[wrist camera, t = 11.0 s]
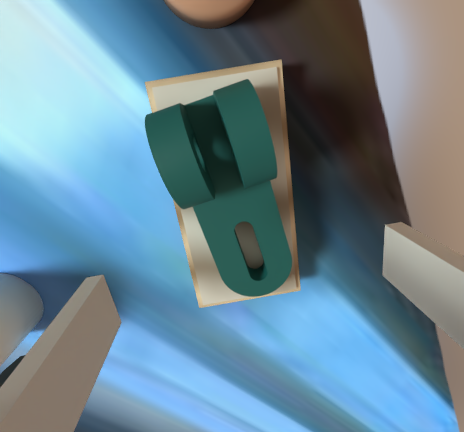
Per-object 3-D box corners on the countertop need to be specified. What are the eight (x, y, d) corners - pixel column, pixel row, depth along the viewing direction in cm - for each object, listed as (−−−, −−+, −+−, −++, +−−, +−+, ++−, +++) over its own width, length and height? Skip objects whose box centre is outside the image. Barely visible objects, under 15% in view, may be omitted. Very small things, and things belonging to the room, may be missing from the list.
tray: (151, 86, 23) (143, 81, 21) (274, 65, 23) (282, 58, 21) (200, 293, 31) (199, 309, 28) (294, 277, 31) (301, 292, 28)
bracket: (161, 116, 22) (133, 112, 14) (239, 87, 21) (253, 69, 14) (230, 291, 28) (237, 353, 20) (293, 271, 27) (322, 326, 20)
